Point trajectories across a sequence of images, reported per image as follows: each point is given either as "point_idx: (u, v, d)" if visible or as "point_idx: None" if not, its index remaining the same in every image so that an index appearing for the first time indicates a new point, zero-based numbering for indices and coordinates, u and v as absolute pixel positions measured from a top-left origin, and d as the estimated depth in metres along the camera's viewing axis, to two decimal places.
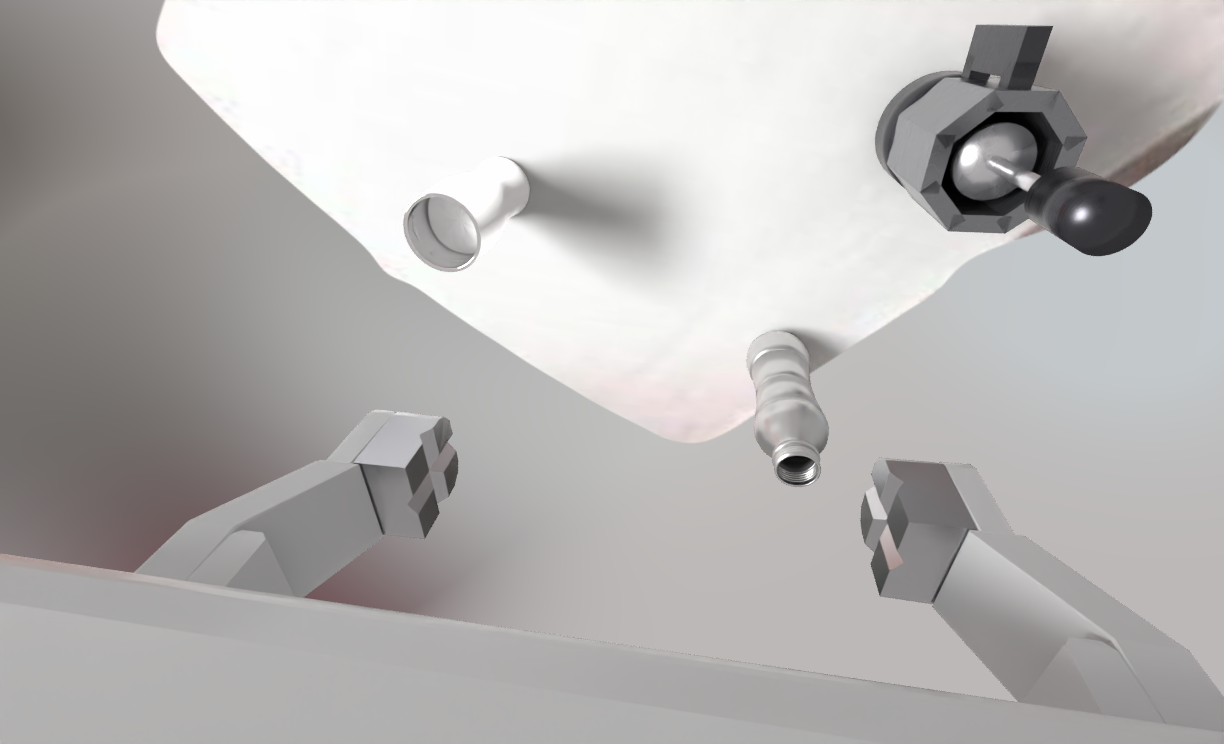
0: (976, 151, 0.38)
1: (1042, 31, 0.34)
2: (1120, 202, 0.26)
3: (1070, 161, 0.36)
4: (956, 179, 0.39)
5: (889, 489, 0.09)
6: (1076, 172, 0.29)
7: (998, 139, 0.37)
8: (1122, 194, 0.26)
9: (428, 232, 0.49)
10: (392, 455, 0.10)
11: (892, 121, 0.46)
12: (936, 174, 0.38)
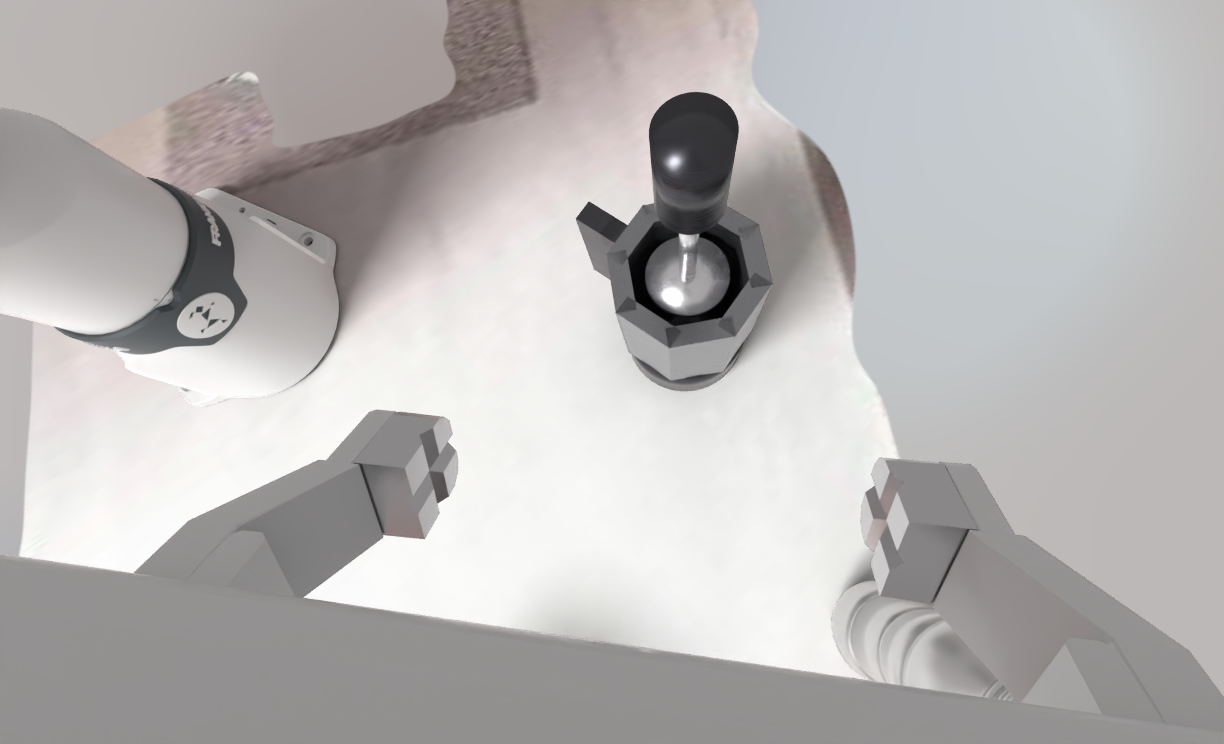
0: (663, 286, 0.33)
1: (587, 209, 0.35)
2: (669, 118, 0.20)
3: None
4: (682, 311, 0.33)
5: (889, 489, 0.09)
6: None
7: (664, 264, 0.33)
8: (659, 115, 0.20)
9: None
10: (392, 455, 0.10)
11: (638, 361, 0.42)
12: (658, 326, 0.32)
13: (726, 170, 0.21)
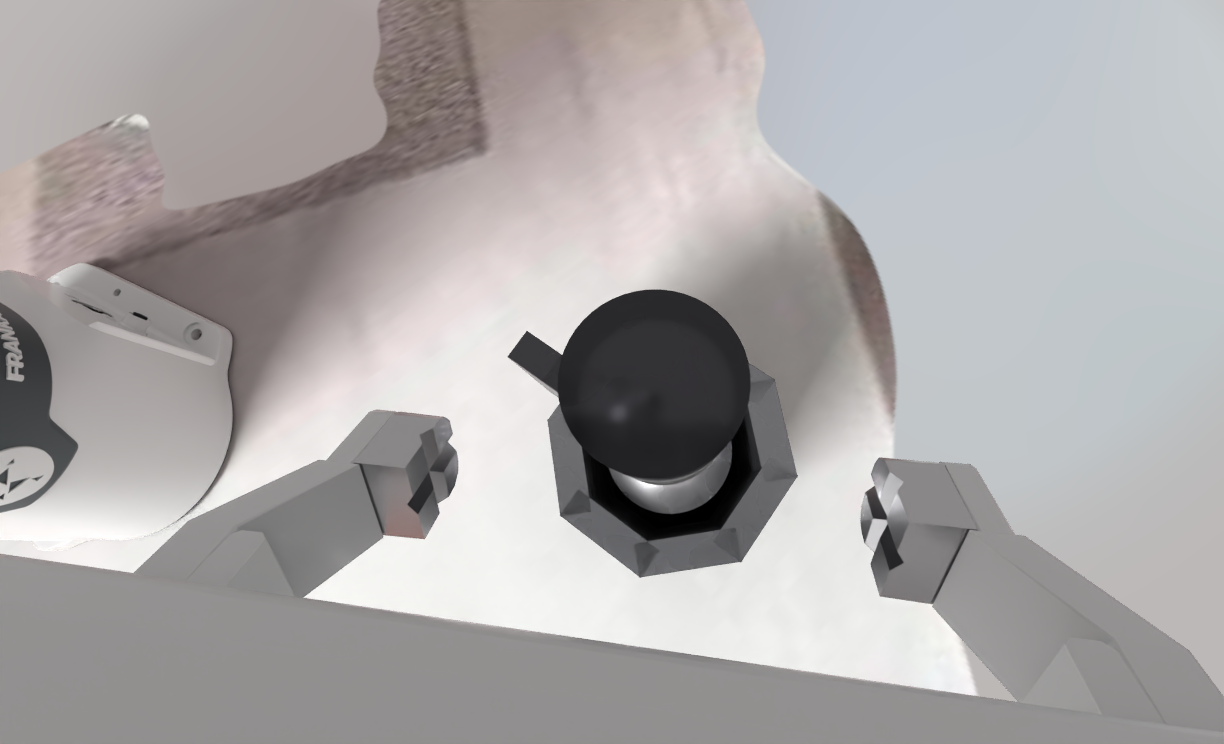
0: None
1: (525, 343, 0.24)
2: (601, 348, 0.09)
3: None
4: (662, 508, 0.22)
5: (889, 489, 0.09)
6: None
7: None
8: (581, 340, 0.10)
9: None
10: (392, 455, 0.10)
11: None
12: (624, 540, 0.21)
13: None
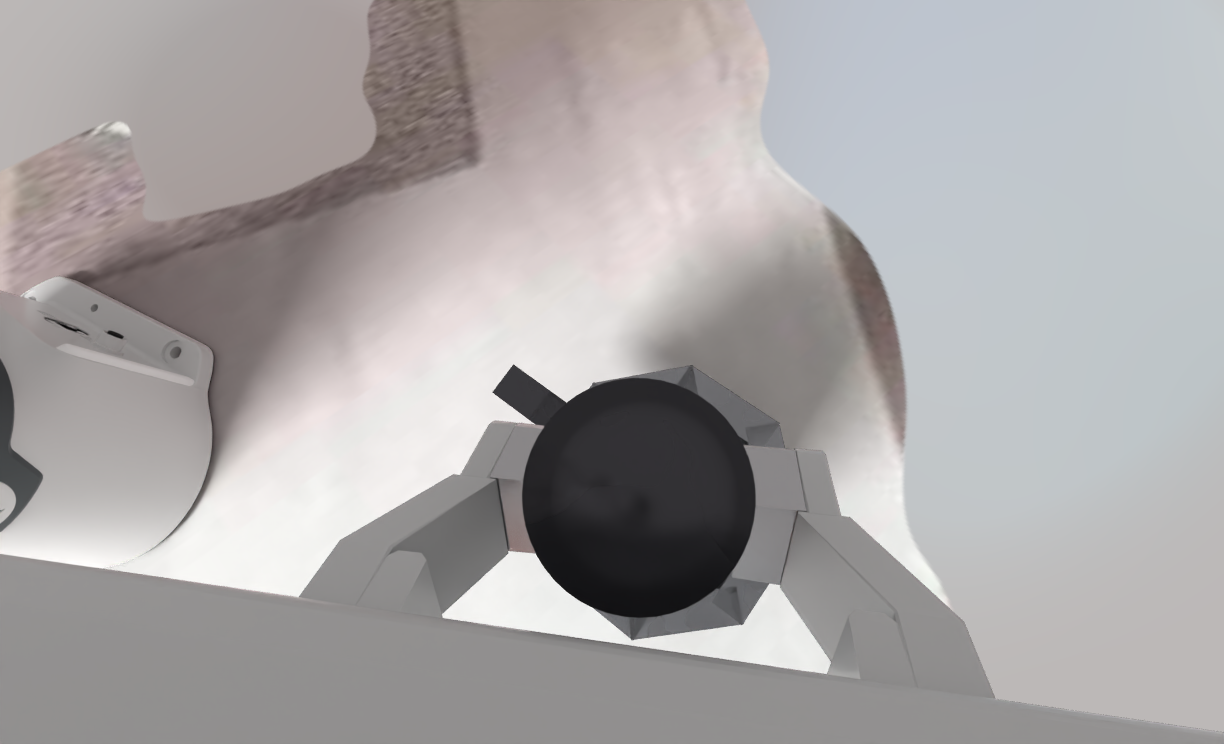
0: None
1: (511, 378, 0.22)
2: (575, 450, 0.08)
3: (719, 396, 0.20)
4: None
5: None
6: None
7: None
8: (551, 439, 0.08)
9: None
10: None
11: None
12: None
13: None
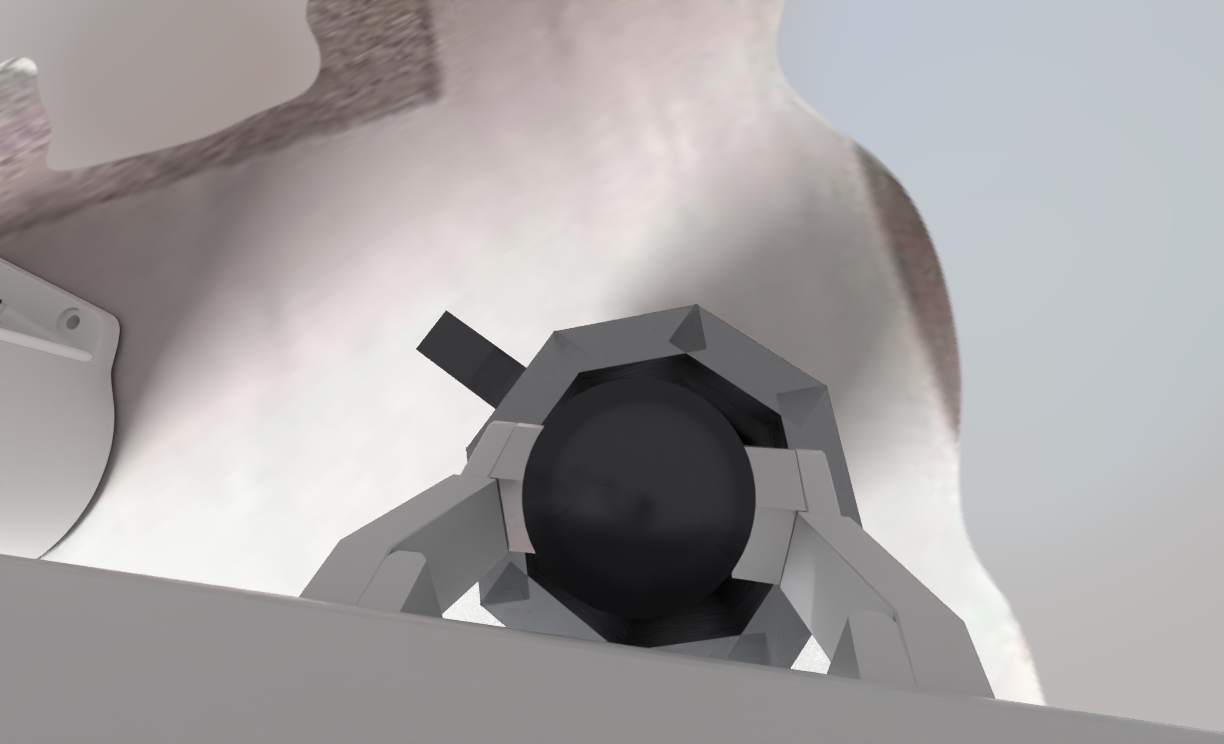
0: None
1: (442, 328, 0.16)
2: (575, 450, 0.08)
3: (737, 348, 0.14)
4: None
5: None
6: None
7: None
8: (551, 439, 0.08)
9: None
10: None
11: None
12: None
13: None
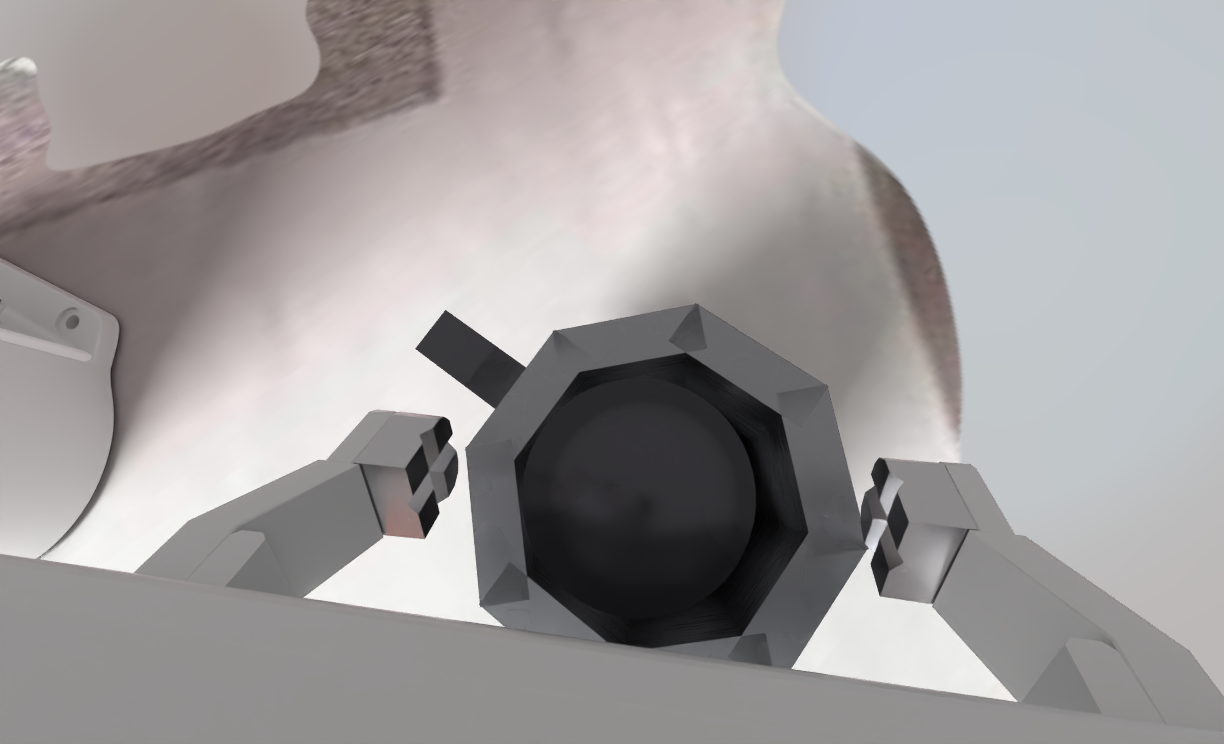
0: None
1: (442, 328, 0.16)
2: (575, 450, 0.08)
3: (738, 347, 0.14)
4: None
5: (889, 489, 0.09)
6: None
7: None
8: (551, 440, 0.08)
9: None
10: (392, 455, 0.10)
11: None
12: None
13: None
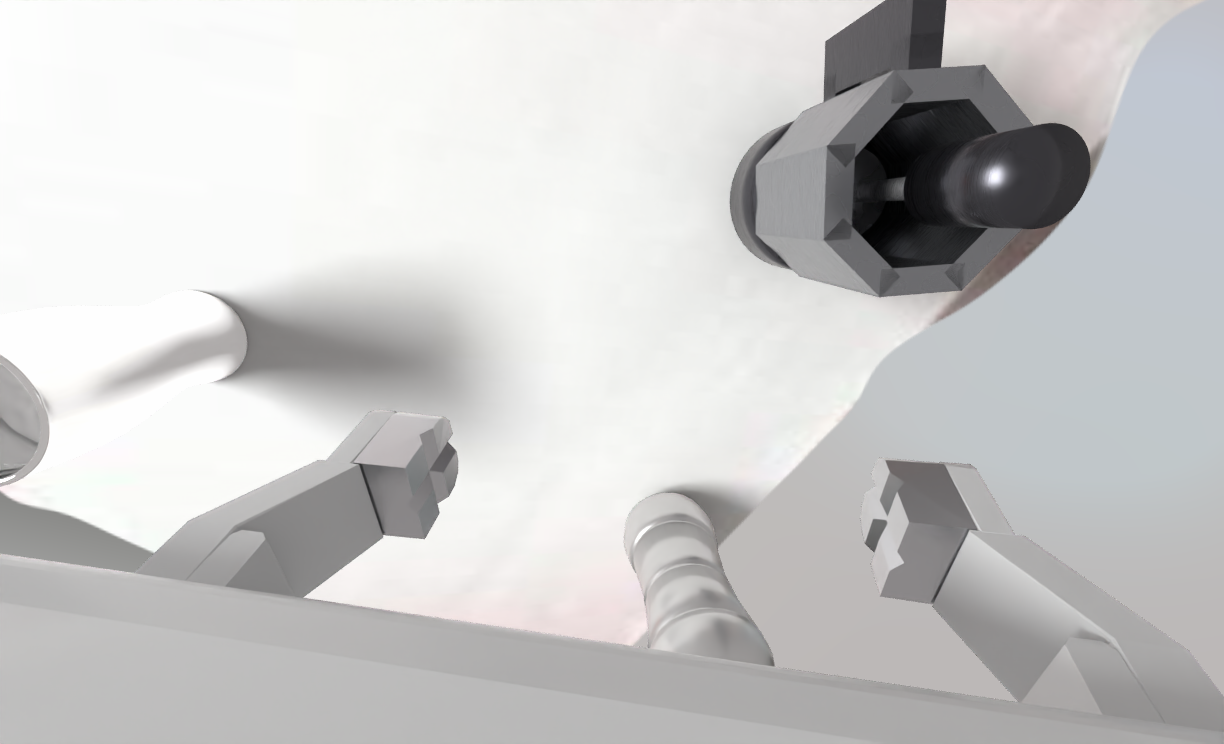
0: None
1: None
2: (1045, 143, 0.17)
3: None
4: None
5: (889, 489, 0.09)
6: (960, 141, 0.21)
7: None
8: (1045, 130, 0.17)
9: None
10: (392, 455, 0.10)
11: (749, 179, 0.33)
12: (841, 208, 0.23)
13: None
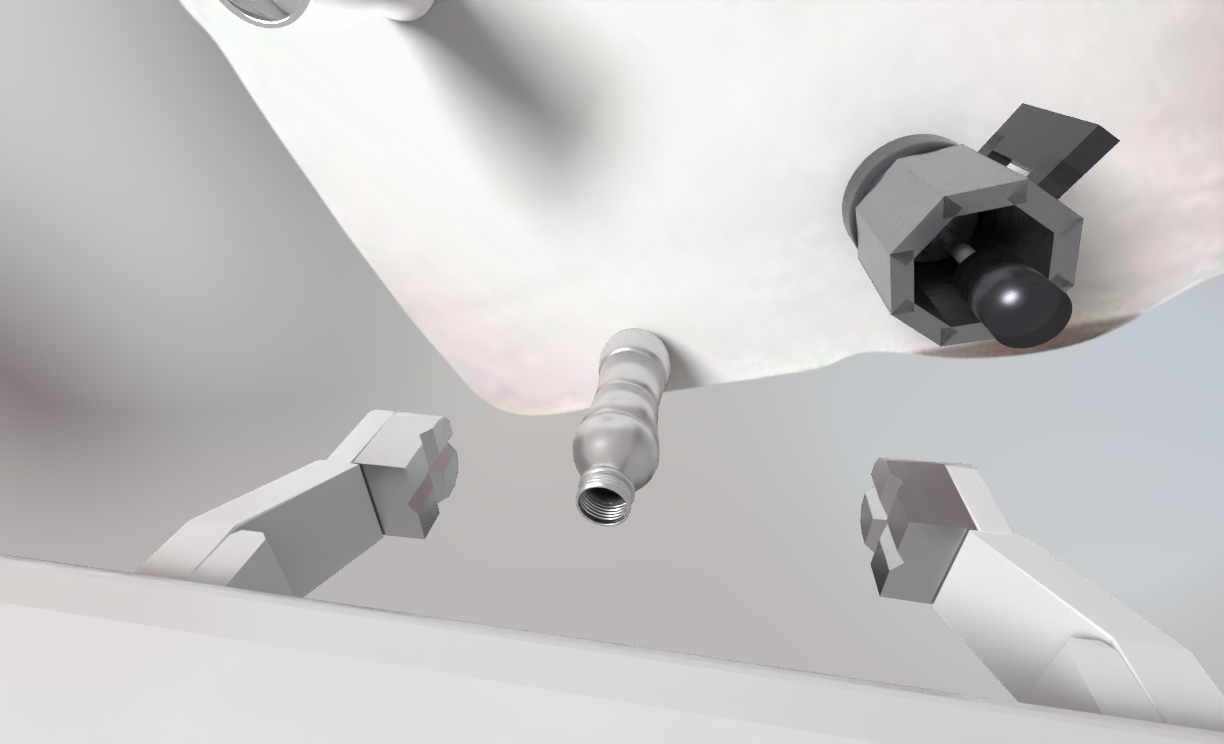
0: None
1: (1107, 140, 0.27)
2: (1050, 300, 0.25)
3: None
4: None
5: (889, 489, 0.09)
6: (1018, 258, 0.28)
7: None
8: (1056, 293, 0.25)
9: None
10: (392, 455, 0.10)
11: (884, 164, 0.38)
12: (917, 243, 0.30)
13: None
